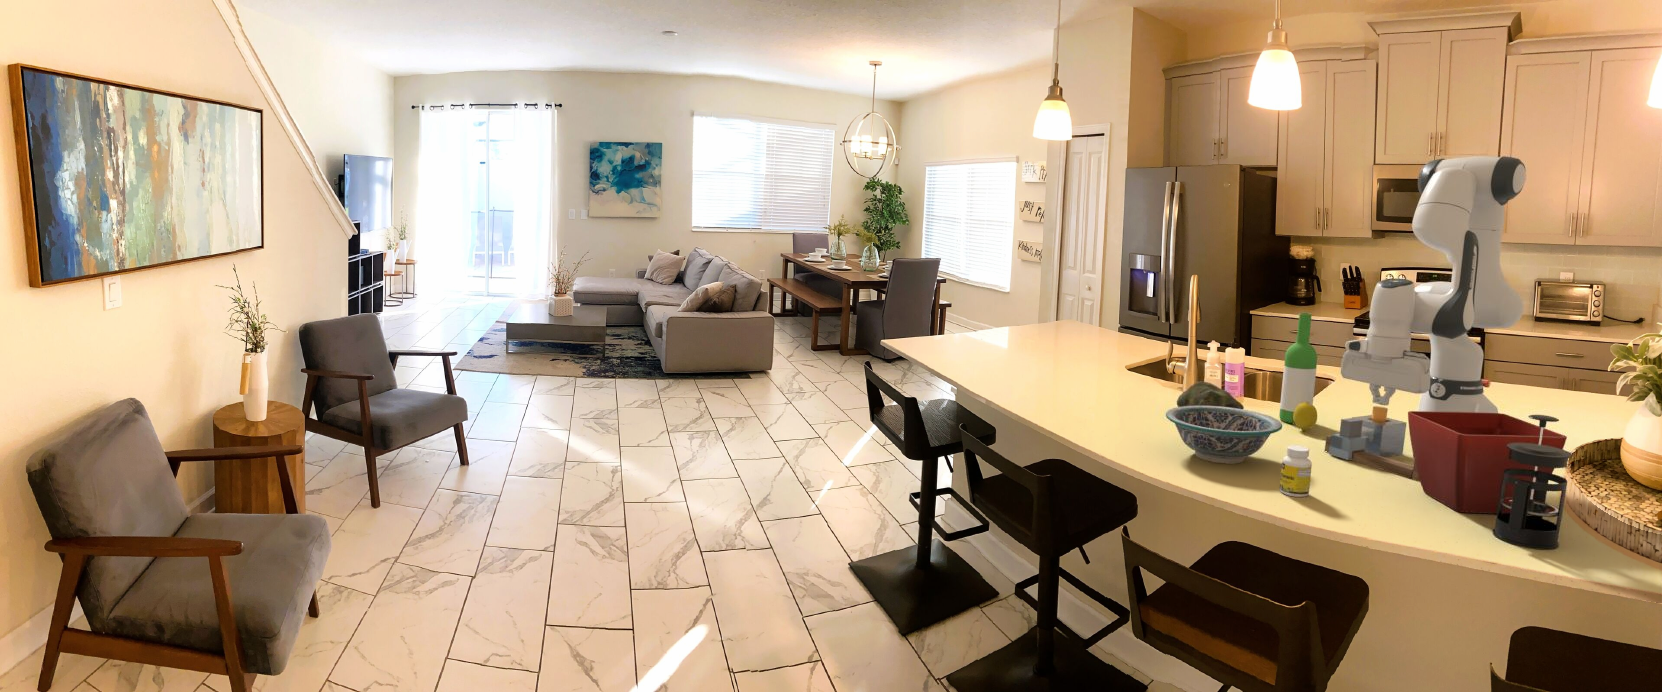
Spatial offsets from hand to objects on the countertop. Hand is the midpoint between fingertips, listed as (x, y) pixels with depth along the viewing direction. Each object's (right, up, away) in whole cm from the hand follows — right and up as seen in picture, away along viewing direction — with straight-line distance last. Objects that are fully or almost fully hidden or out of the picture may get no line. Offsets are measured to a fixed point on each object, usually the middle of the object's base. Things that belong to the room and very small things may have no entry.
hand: (1380, 404), depth 206 cm
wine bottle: (-4, -7, +30) cm, 31 cm away
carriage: (-9, -12, -2) cm, 16 cm away
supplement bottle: (-36, -17, -27) cm, 48 cm away
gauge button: (0, -6, +1) cm, 6 cm away
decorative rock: (-26, -6, +36) cm, 44 cm away
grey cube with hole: (0, -12, +2) cm, 12 cm away
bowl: (-40, -13, -2) cm, 42 cm away
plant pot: (-2, -18, -33) cm, 37 cm away
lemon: (-7, -9, +21) cm, 23 cm away
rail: (-7, -14, -8) cm, 17 cm away
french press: (-7, -21, -51) cm, 56 cm away
